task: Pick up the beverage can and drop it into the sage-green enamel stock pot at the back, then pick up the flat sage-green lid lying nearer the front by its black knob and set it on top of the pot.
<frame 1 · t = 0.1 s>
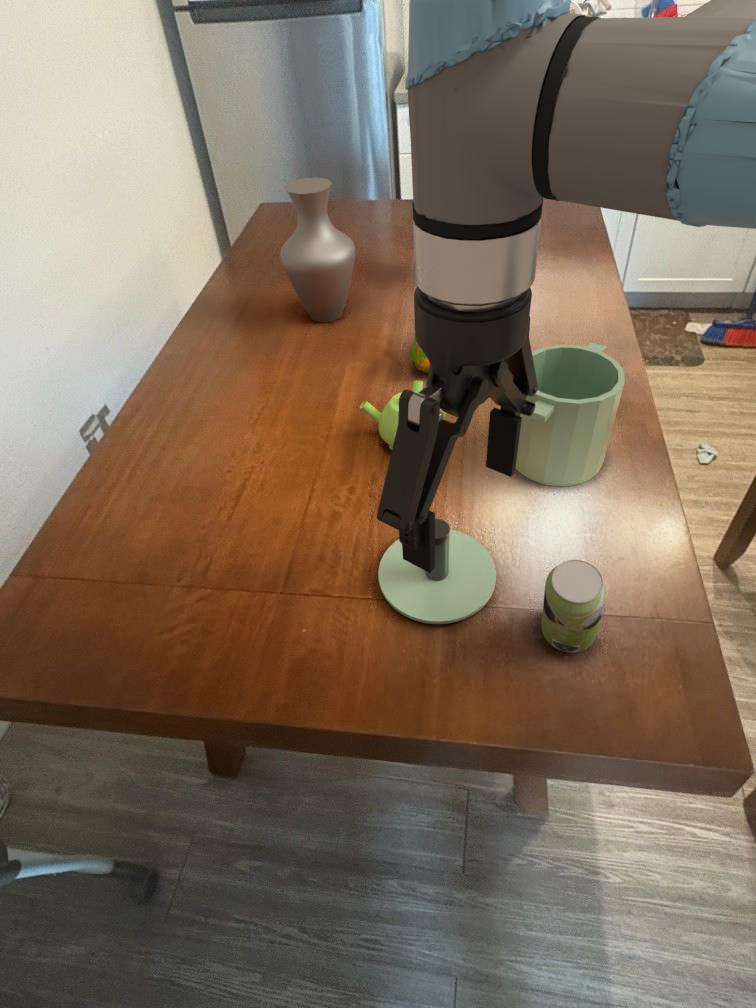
hand: (462, 513, 54), 22 cm above the table, tool pointing down, fingers open, 13 cm apart
corn: (445, 354, 112), on the table
cup: (462, 280, 132), on the table
vase: (326, 315, 125), on the table
lid: (436, 574, 75), point 1 cm above the table
pot: (554, 454, 90), on the table
beverage can: (564, 638, 69), on the table
teapot: (405, 439, 95), on the table
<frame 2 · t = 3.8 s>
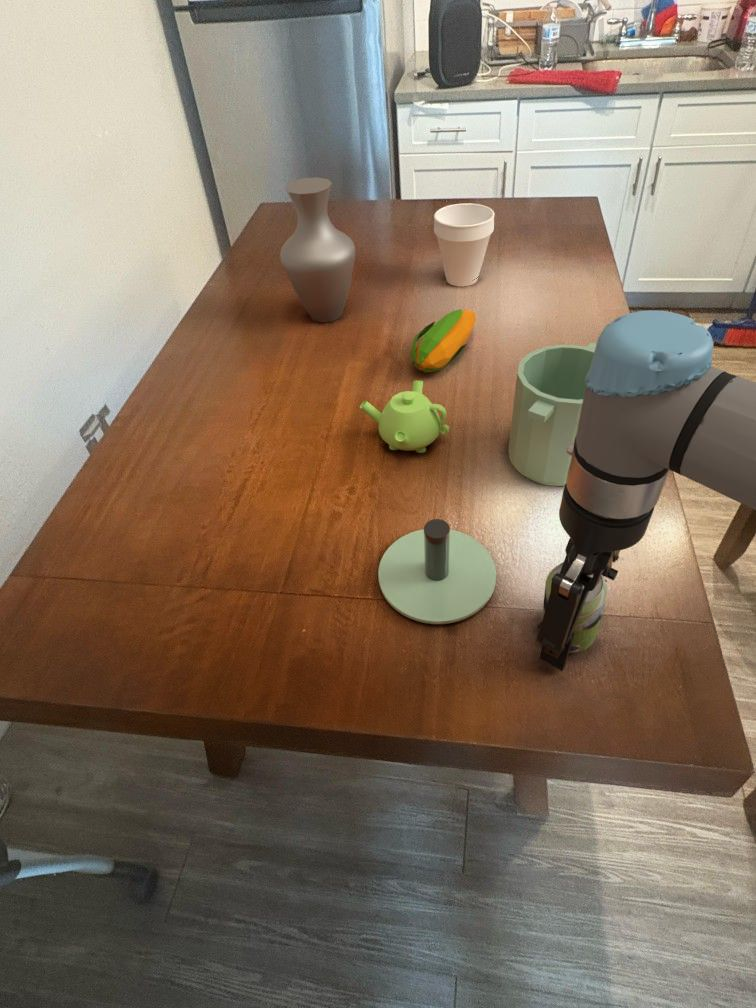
hand: (568, 635, 68), 1 cm above the table, tool pointing down, fingers closed on beverage can, 7 cm apart
beverage can: (564, 638, 69), on the table, touching gripper
everything else where it was.
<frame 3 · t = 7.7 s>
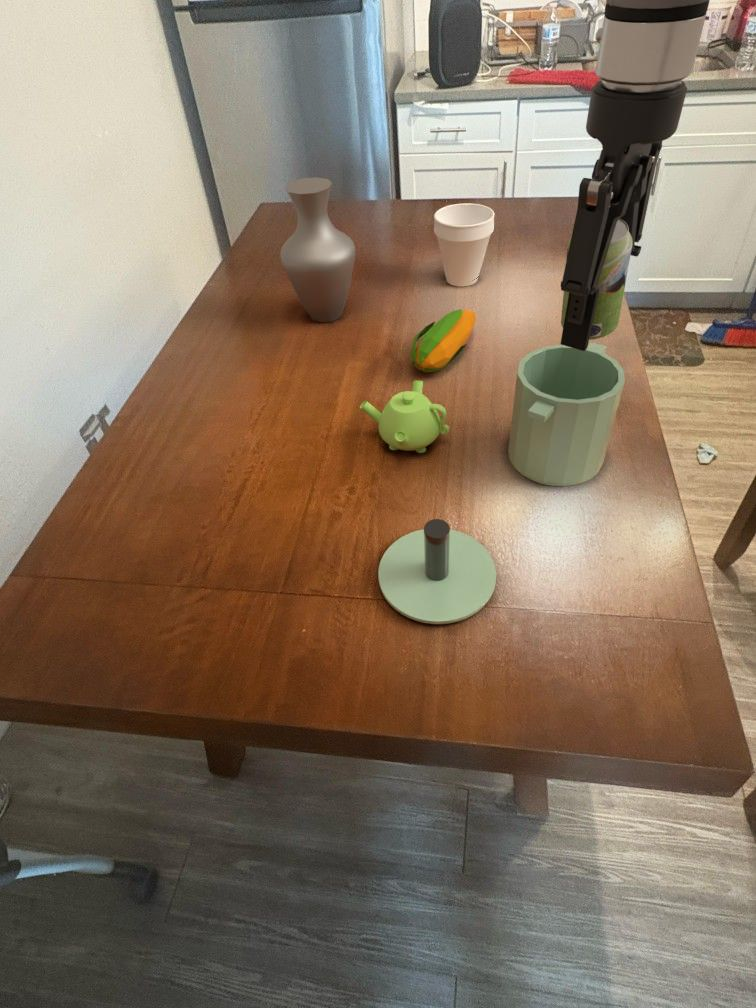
hand: (589, 328, 66), 26 cm above the table, tool pointing down, fingers closed on beverage can, 7 cm apart
beverage can: (584, 334, 67), point 25 cm above the table, touching gripper
everything else where it was.
when the fingers open (14 cm above the table, at t = 12.6 s): beverage can stays where it is, point 1 cm above the table.
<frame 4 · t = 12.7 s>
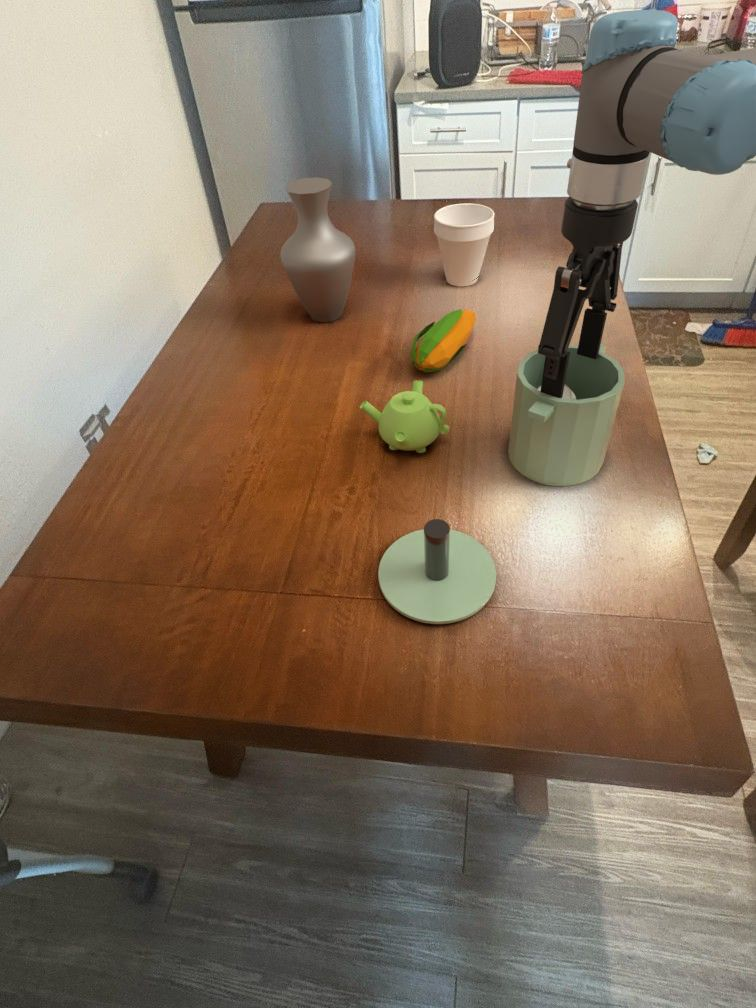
hand: (569, 374, 80), 14 cm above the table, tool pointing down, fingers open, 10 cm apart
beverage can: (552, 450, 90), point 1 cm above the table
everything else where it was.
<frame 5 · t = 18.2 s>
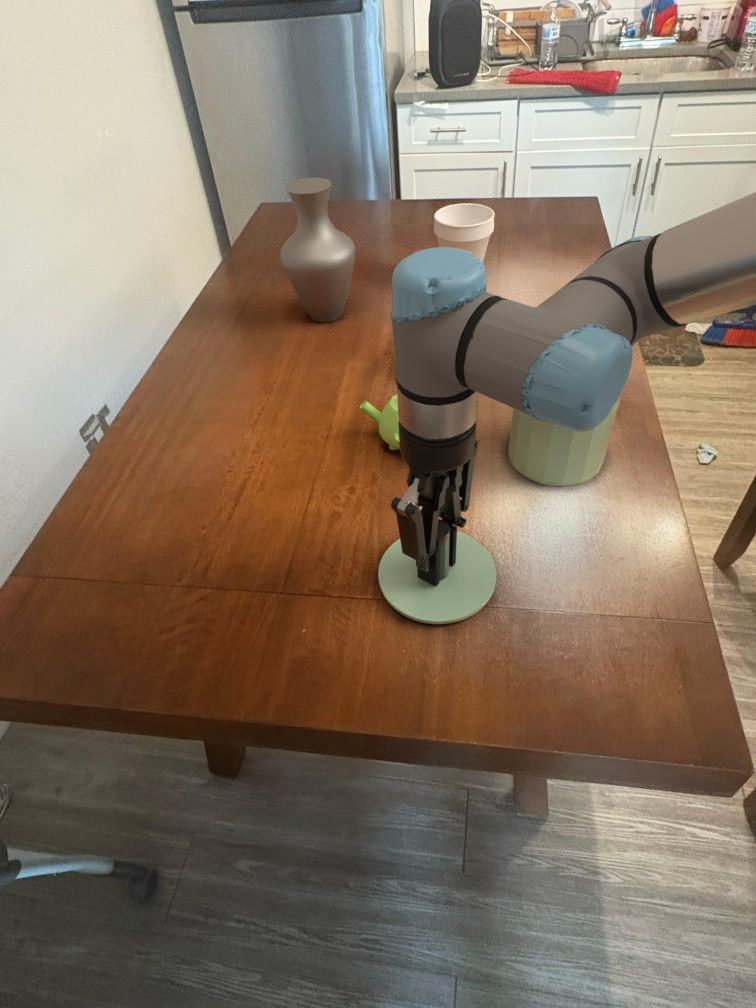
hand: (436, 569, 75), 2 cm above the table, tool pointing down, fingers closed on lid, 3 cm apart
lid: (436, 574, 75), point 1 cm above the table, touching gripper
beverage can: (552, 450, 90), point 1 cm above the table, touching pot
everything else where it was.
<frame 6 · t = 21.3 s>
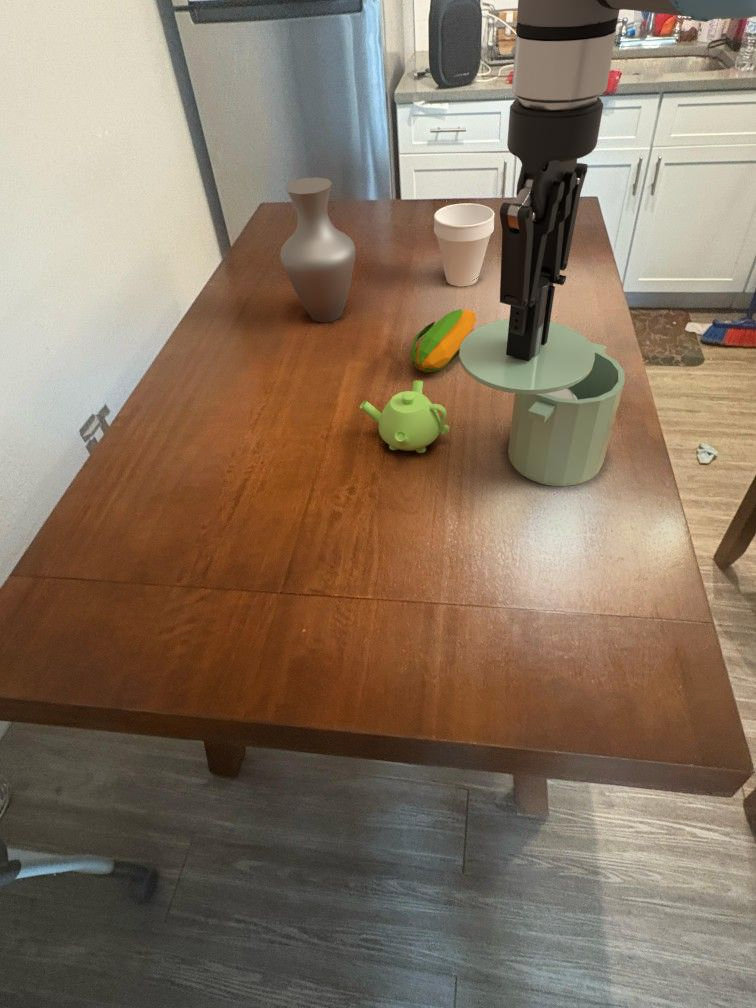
hand: (526, 348, 66), 25 cm above the table, tool pointing down, fingers closed on lid, 3 cm apart
lid: (525, 355, 67), point 24 cm above the table, touching gripper
everything else where it was.
when the fingers open (15 cm above the table, at t = 24.6 s): lid stays where it is, resting on pot.
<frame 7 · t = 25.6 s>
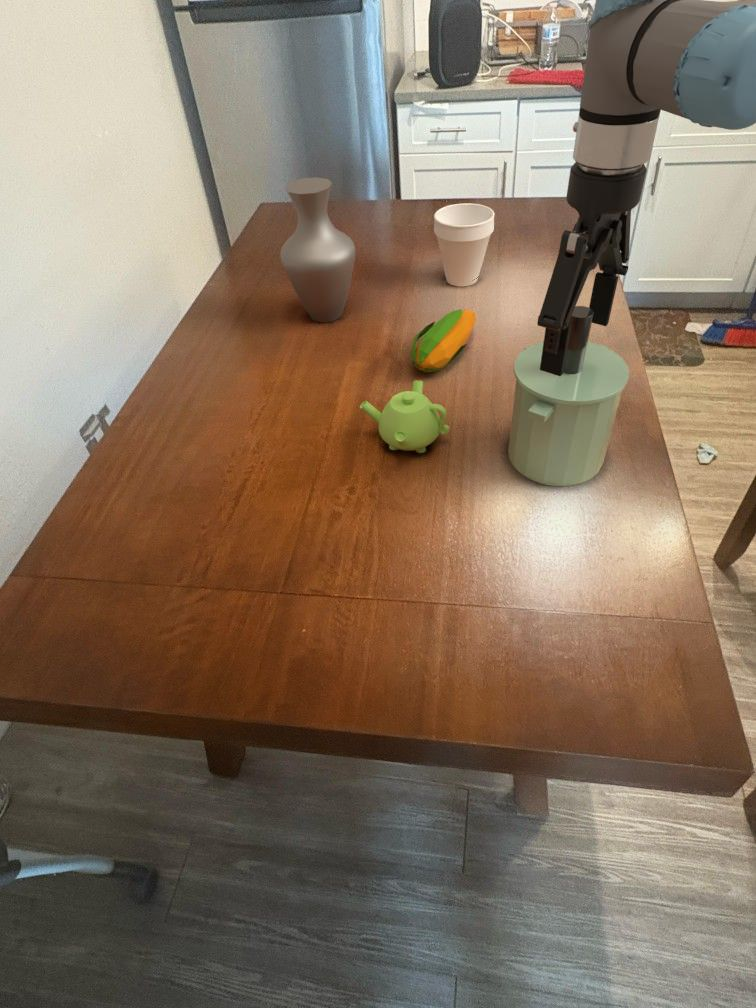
hand: (575, 346, 77), 18 cm above the table, tool pointing down, fingers open, 13 cm apart
lid: (569, 371, 80), point 14 cm above the table, touching pot
everything else where it was.
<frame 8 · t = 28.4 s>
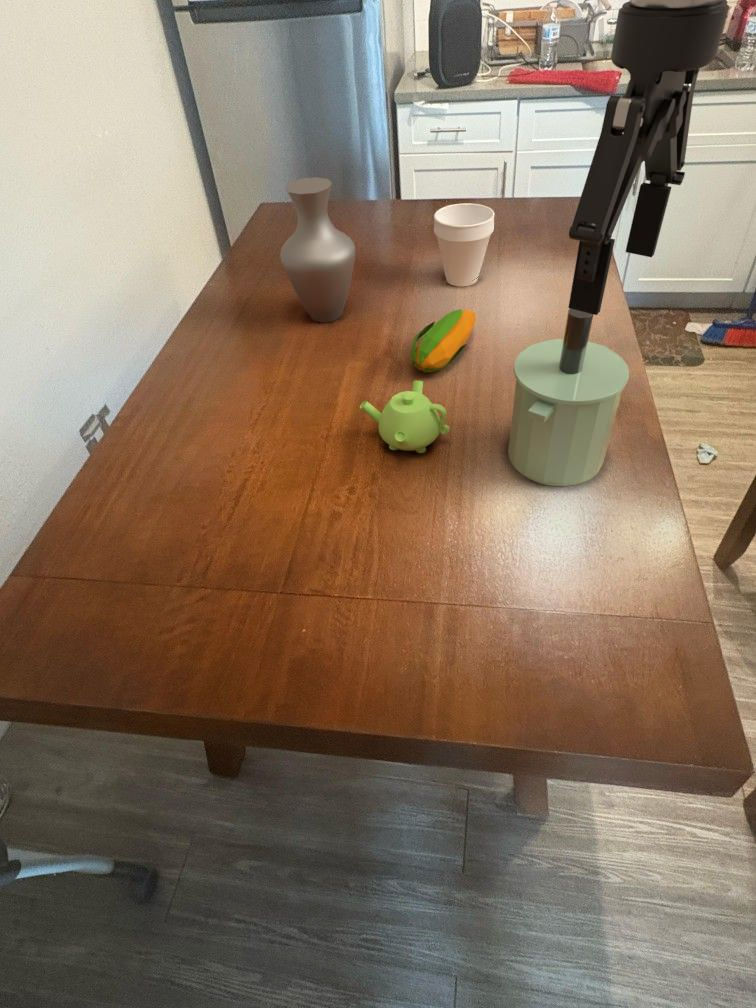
hand: (613, 280, 59), 33 cm above the table, tool pointing down, fingers open, 13 cm apart
nothing on the table moved.
at the end: beverage can inside the target area in the pot (0.4 cm from its centre), point 0.8 cm above the pot's base; lid 0.1 cm off-centre on the pot, point 14.5 cm above the pot's base; lid tilted 0° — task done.
